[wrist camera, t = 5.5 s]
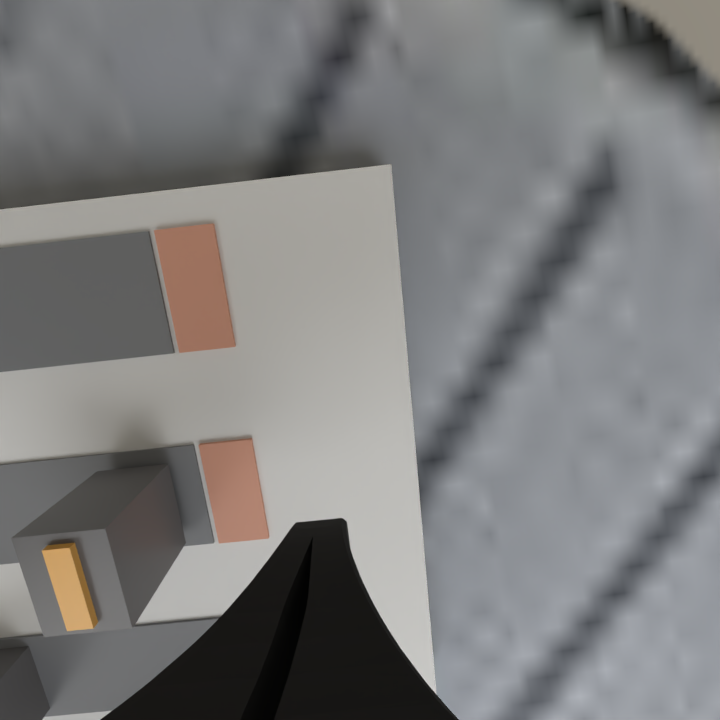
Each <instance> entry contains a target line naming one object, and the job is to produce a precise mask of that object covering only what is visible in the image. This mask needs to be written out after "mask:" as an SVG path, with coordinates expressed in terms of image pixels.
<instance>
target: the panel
mask: <svg viewBox="0 0 720 720" xmlns="http://www.w3.org/2000/svg"><path fill="white" fill-rule="evenodd" d="M162 464H168V466H169V470H170V474H171V479H172V483H173V488H174V492H175V496H176V501H177V505H178V510H179V514H180V518H181V523H182V527H183V532H184V536H185V540H186V544H185V545H184V547H183V549H182V550H181V552H180V553H179V555H178V557H177V558H176V560H175V561H174V563H173V565H172V566H171V568H170V569H169V571H168V573H167V574H166V576H165V577H164V579H163V581H162V582H161V584H160V585H159V587H158V589H157V590H156V592H155V593H154V595H153V597H152V598H151V600H150V601H149V603H148V605H147V606H146V608H145V609H144V611H143V613H142V614H141V616H140V617H139V619H138V621H137V622H136V624H135V625H134V627H133V629H123V630H113V631H102V632H92V633H82V634H71V635H61V636H50V637H44V636H43V633H42V630H41V627H40V624H39V621H38V618H37V615H36V612H35V609H34V606H33V603H32V600H31V597H30V594H29V591H28V588H27V585H26V582H25V579H24V576H23V573H22V570H21V567H20V564H19V561H18V558H17V555H16V552H15V549H14V546H13V543H12V540H11V538H12V537H13V536H15V535H16V534H17V533H18V532H20V531H21V530H22V529H24V528H25V527H26V526H27V525H29V524H30V523H31V522H33V521H34V520H35V519H36V518H38V517H39V516H40V515H42V514H43V513H44V512H45V511H47V510H48V509H49V508H50V507H52V506H53V505H54V504H56V503H57V502H58V501H59V500H61V499H62V498H63V497H65V496H66V495H67V494H68V493H70V492H71V491H72V490H74V489H75V488H76V487H77V486H79V485H80V484H81V483H83V482H84V481H85V480H86V479H88V478H89V477H90V476H92V475H93V474H94V473H95V472H97V471H104V470H114V469H123V468H133V467H143V466H152V465H162ZM336 518H343V519H344V520H345V521H347V526H348V533H349V541H350V549H351V552H352V555H353V558H354V561H355V563H356V566H357V569H358V571H359V574H360V576H361V579H362V581H363V583H364V585H365V587H366V589H367V591H368V594H369V596H370V598H371V600H372V602H373V603H374V605H375V607H376V609H377V611H378V613H379V614H380V616H381V618H382V620H383V621H384V623H385V625H386V626H387V628H388V630H389V631H390V633H391V634H392V636H393V637H394V639H395V640H396V642H397V643H398V645H399V646H400V648H401V649H402V651H403V652H404V653H405V655H406V656H407V657H408V659H409V660H410V661H411V663H412V664H413V666H414V667H415V668H416V670H417V671H418V672H419V674H420V675H421V676H422V678H423V679H424V680H425V682H426V683H427V684H428V685H429V686H430V688H431V689H432V690H433V691H434V692H435V693H436V682H435V671H434V659H433V647H432V636H431V624H430V612H429V601H428V589H427V577H426V566H425V554H424V542H423V531H422V519H421V507H420V496H419V484H418V472H417V461H416V449H415V437H414V425H413V414H412V402H411V390H410V379H409V367H408V355H407V344H406V332H405V320H404V309H403V297H402V285H401V274H400V262H399V250H398V239H397V227H396V215H395V203H394V192H393V180H392V168H391V164H389V165H380V166H371V167H363V168H354V169H346V170H337V171H328V172H320V173H311V174H302V175H294V176H285V177H277V178H268V179H259V180H251V181H242V182H233V183H225V184H216V185H207V186H199V187H190V188H182V189H173V190H164V191H156V192H147V193H138V194H130V195H121V196H113V197H104V198H95V199H87V200H78V201H69V202H61V203H52V204H44V205H35V206H26V207H18V208H9V209H0V720H100V719H102V718H103V717H104V716H106V715H107V714H108V713H110V712H111V711H113V710H114V709H115V708H117V707H118V706H119V705H121V704H122V703H123V702H125V701H126V700H127V699H128V698H130V697H131V696H132V695H134V694H135V693H136V692H137V691H139V690H140V689H141V688H143V687H144V686H145V685H146V684H147V683H149V682H150V681H151V680H152V679H153V678H155V677H156V676H157V675H158V674H159V673H160V672H162V671H163V670H164V669H165V668H166V667H167V666H168V665H170V664H171V663H172V662H173V661H174V660H175V659H177V658H178V657H179V656H180V655H181V654H182V653H184V652H185V651H186V650H187V649H188V648H189V647H190V646H191V645H192V644H194V643H195V642H196V641H197V640H198V639H199V638H200V637H201V636H202V635H203V634H204V633H205V632H206V631H207V630H208V629H209V628H210V627H211V626H212V625H213V624H214V623H215V622H216V621H217V620H218V619H219V618H220V617H221V616H222V615H223V613H224V612H225V611H226V610H227V609H228V608H229V607H230V606H231V605H232V603H233V602H234V601H235V600H236V599H237V598H238V596H239V595H240V594H241V593H242V592H243V591H244V589H245V588H246V587H247V586H248V585H249V584H250V582H251V581H252V580H253V579H254V577H255V576H256V575H257V573H258V572H259V571H260V570H261V568H262V567H263V566H264V564H265V563H266V562H267V561H268V559H269V558H270V557H271V555H272V554H273V552H274V551H275V550H276V548H277V547H278V546H279V544H280V543H281V541H282V540H283V539H284V537H285V536H286V534H287V533H288V532H289V530H290V529H291V528H292V526H293V525H294V524H295V523H296V522H306V521H316V520H326V519H336ZM436 695H437V694H436Z"/></svg>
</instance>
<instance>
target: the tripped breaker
mask: <svg viewBox="0 0 720 720" xmlns="http://www.w3.org/2000/svg"><path fill="white" fill-rule="evenodd" d="M11 540H12V543H13V546H14V549H15V552H16V555H17V558H18V561H19V564H20V567H21V570H22V573H23V576H24V579H25V582H26V585H27V588H28V591H29V594H30V597H31V600H32V603H33V606H34V609H35V612H36V615H37V618H38V621H39V624H40V627H41V630H42V633H43V636H44V637H50V636H61V635H71V634H82V633H92V632H102V631H113V630H123V629H133V627H134V625H135V624H136V622H137V621H138V619H139V617H140V616H141V614H142V613H143V611H144V609H145V608H146V606H147V605H148V603H149V601H150V600H151V598H152V597H153V595H154V593H155V592H156V590H157V589H158V587H159V585H160V584H161V582H162V581H163V579H164V577H165V576H166V574H167V573H168V571H169V569H170V568H171V566H172V565H173V563H174V561H175V560H176V558H177V557H178V555H179V553H180V552H181V550H182V549H183V547H184V545H185V544H186V540H185V536H184V532H183V527H182V523H181V518H180V514H179V510H178V505H177V501H176V496H175V492H174V488H173V483H172V479H171V474H170V470H169V466H168V464H162V465H152V466H143V467H133V468H123V469H114V470H104V471H97V472H95V473H94V474H93V475H92V476H90V477H89V478H88V479H86V480H85V481H84V482H83V483H81V484H80V485H79V486H77V487H76V488H75V489H74V490H72V491H71V492H70V493H68V494H67V495H66V496H65V497H63V498H62V499H61V500H59V501H58V502H57V503H56V504H54V505H53V506H52V507H50V508H49V509H48V510H47V511H45V512H44V513H43V514H42V515H40V516H39V517H38V518H36V519H35V520H34V521H33V522H31V523H30V524H29V525H27V526H26V527H25V528H24V529H22V530H21V531H20V532H18V533H17V534H16V535H15V536H13V537H12V538H11Z"/></svg>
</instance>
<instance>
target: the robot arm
mask: <svg viewBox="0 0 720 720" xmlns="http://www.w3.org/2000/svg"><path fill="white" fill-rule="evenodd" d="M100 720H458V719H457V717H456V716H455V715H454V714H453V713H452V712H451V711H450V710H449V709H448V708H447V706H446V705H445V704H444V703H443V702H442V701H441V699H440V698H439V697H438V696H437V695H436V693H435V692H434V691H433V690H432V689H431V688H430V686H429V685H428V684H427V683H426V682H425V680H424V679H423V678H422V676H421V675H420V674H419V672H418V671H417V670H416V668H415V667H414V666H413V664H412V663H411V661H410V660H409V659H408V657H407V656H406V655H405V653H404V652H403V651H402V649H401V648H400V646H399V645H398V643H397V642H396V640H395V639H394V637H393V636H392V634H391V633H390V631H389V630H388V628H387V626H386V625H385V623H384V621H383V620H382V618H381V616H380V614H379V613H378V611H377V609H376V607H375V605H374V603H373V602H372V600H371V598H370V596H369V594H368V591H367V589H366V587H365V585H364V583H363V581H362V579H361V576H360V574H359V571H358V569H357V566H356V563H355V561H354V558H353V555H352V552H351V549H350V541H349V533H348V526H347V521H345V520H344V519H343V518H336V519H326V520H316V521H306V522H296V523H295V524H294V525H293V526H292V528H291V529H290V530H289V532H288V533H287V534H286V536H285V537H284V539H283V540H282V541H281V543H280V544H279V546H278V547H277V548H276V550H275V551H274V552H273V554H272V555H271V557H270V558H269V559H268V561H267V562H266V563H265V564H264V566H263V567H262V568H261V570H260V571H259V572H258V573H257V575H256V576H255V577H254V579H253V580H252V581H251V582H250V584H249V585H248V586H247V587H246V588H245V589H244V591H243V592H242V593H241V594H240V595H239V596H238V598H237V599H236V600H235V601H234V602H233V603H232V605H231V606H230V607H229V608H228V609H227V610H226V611H225V612H224V613H223V615H222V616H221V617H220V618H219V619H218V620H217V621H216V622H215V623H214V624H213V625H212V626H211V627H210V628H209V629H208V630H207V631H206V632H205V633H204V634H203V635H202V636H201V637H200V638H199V639H198V640H197V641H196V642H195V643H194V644H192V645H191V646H190V647H189V648H188V649H187V650H186V651H185V652H184V653H182V654H181V655H180V656H179V657H178V658H177V659H175V660H174V661H173V662H172V663H171V664H170V665H168V666H167V667H166V668H165V669H164V670H163V671H162V672H160V673H159V674H158V675H157V676H156V677H155V678H153V679H152V680H151V681H150V682H149V683H147V684H146V685H145V686H144V687H143V688H141V689H140V690H139V691H137V692H136V693H135V694H134V695H132V696H131V697H130V698H128V699H127V700H126V701H125V702H123V703H122V704H121V705H119V706H118V707H117V708H115V709H114V710H113V711H111V712H110V713H108V714H107V715H106V716H104V717H103V718H102V719H100Z"/></svg>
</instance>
